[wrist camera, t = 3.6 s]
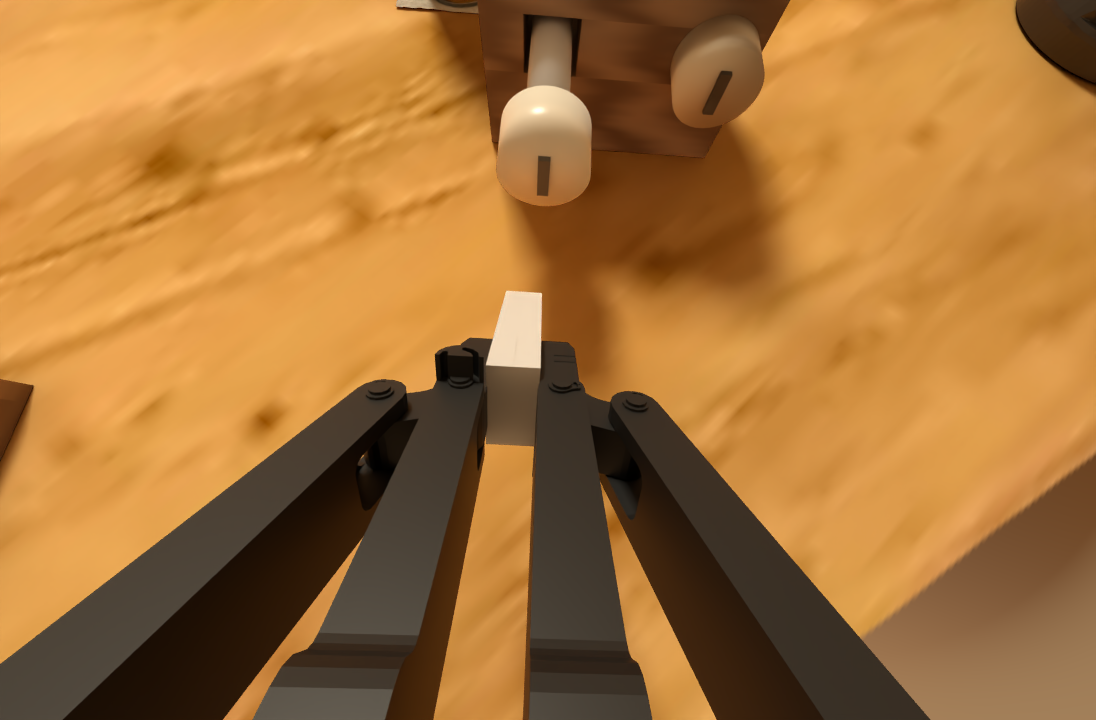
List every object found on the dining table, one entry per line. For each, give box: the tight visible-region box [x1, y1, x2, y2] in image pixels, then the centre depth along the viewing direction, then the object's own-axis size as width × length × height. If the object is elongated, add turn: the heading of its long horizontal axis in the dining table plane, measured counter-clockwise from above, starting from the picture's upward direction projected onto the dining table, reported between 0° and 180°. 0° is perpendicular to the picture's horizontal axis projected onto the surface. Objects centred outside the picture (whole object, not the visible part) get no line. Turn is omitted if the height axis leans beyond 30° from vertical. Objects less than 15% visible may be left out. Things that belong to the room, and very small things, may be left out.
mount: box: [477, 0, 790, 158], centre depth 25 cm, size 16×13×11 cm
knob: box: [496, 15, 592, 206], centre depth 22 cm, size 5×15×5 cm, turn 177°
